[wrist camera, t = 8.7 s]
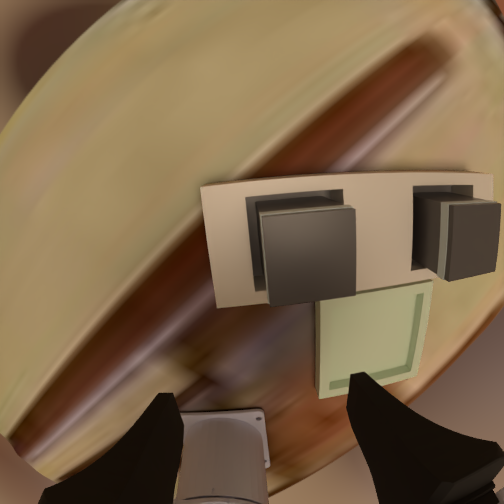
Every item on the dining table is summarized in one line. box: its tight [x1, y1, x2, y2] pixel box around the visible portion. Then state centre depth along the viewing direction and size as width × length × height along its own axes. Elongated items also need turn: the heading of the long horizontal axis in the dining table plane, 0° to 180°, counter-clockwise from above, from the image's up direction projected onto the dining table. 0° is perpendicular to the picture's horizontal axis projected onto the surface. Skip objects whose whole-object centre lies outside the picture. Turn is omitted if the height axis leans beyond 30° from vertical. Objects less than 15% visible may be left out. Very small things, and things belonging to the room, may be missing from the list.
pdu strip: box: [200, 170, 493, 308], centre depth 19 cm, size 7×20×3 cm, turn 96°
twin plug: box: [255, 196, 356, 307], centre depth 17 cm, size 4×4×6 cm
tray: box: [315, 279, 433, 399], centre depth 22 cm, size 9×9×2 cm
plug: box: [412, 192, 501, 282], centre depth 17 cm, size 4×4×6 cm
